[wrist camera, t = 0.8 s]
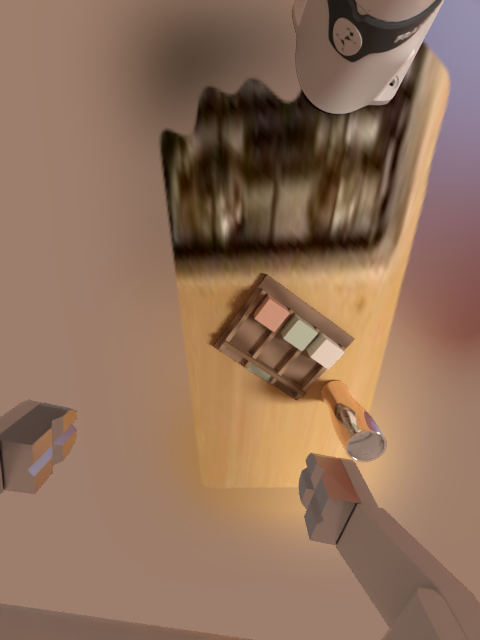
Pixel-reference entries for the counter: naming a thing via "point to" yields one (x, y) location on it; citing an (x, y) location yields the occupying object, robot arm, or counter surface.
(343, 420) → the beer glass
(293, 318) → the sage green cube
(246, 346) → the brown compartment tray
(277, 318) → the salmon pink cube
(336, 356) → the pale pink cube
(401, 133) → the counter surface
